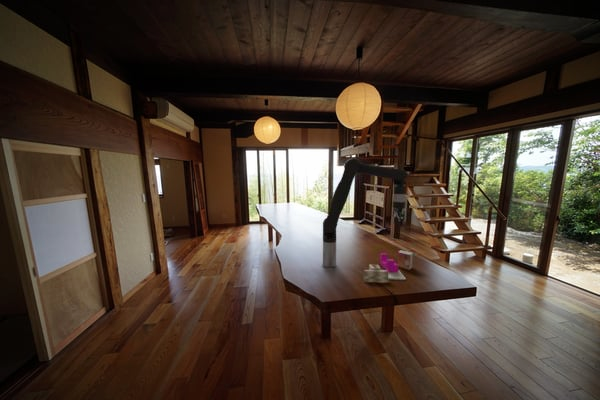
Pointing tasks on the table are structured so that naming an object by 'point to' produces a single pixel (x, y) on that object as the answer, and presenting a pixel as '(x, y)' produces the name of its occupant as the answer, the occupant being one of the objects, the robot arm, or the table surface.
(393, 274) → the pad
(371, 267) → the birch cube
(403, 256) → the small box
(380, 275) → the screen
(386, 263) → the toy block
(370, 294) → the table surface
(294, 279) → the table surface
